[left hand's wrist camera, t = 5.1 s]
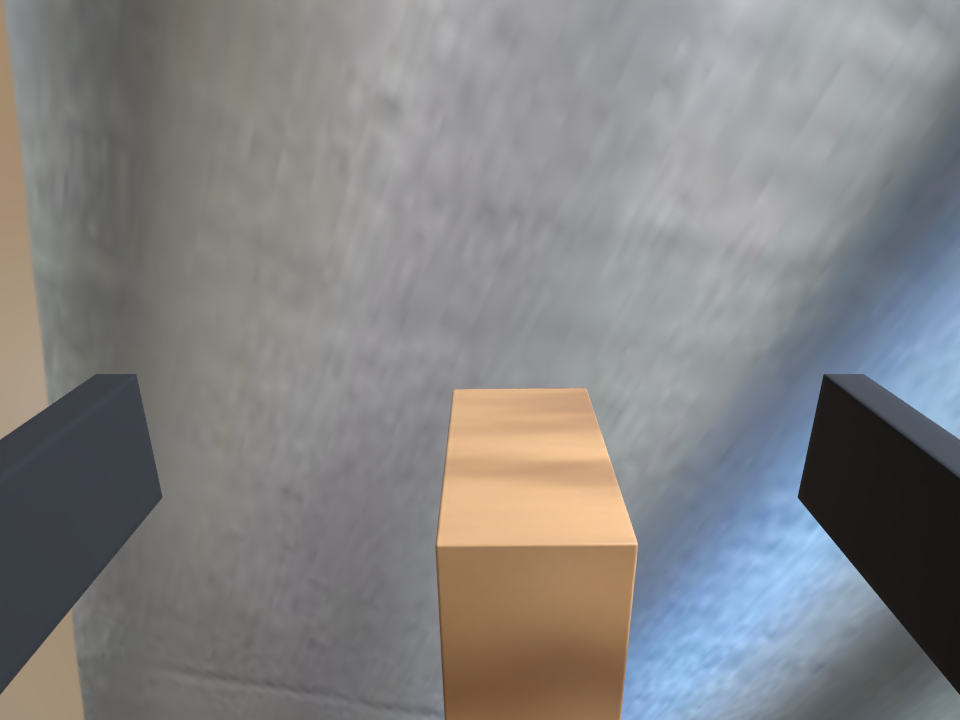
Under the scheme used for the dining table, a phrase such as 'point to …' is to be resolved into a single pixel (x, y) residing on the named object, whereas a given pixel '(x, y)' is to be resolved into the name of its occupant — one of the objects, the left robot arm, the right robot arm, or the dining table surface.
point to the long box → (532, 560)
